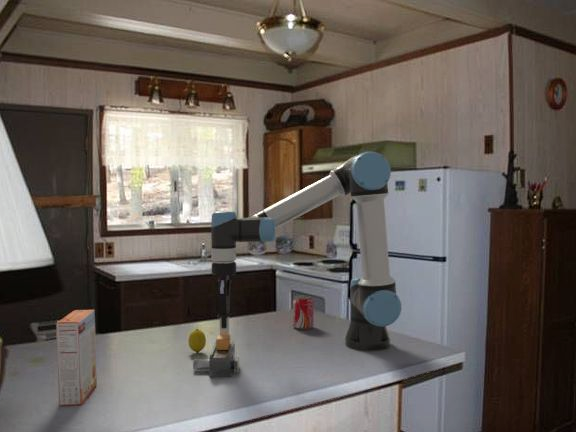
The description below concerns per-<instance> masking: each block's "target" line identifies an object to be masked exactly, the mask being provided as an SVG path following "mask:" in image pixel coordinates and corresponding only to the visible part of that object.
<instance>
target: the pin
mask: <svg viewBox="0 0 576 432" xmlns="http://www.w3.org/2000/svg"><path fill="white" fill-rule="evenodd" d="M192 369H193V371H206V370H207V371H209V358H208V359H207V358H204V359H203V358H202V359H199V358H198V359H196V358H195V359H193V363H192ZM239 369H240V355H239V354H238V355H236V354H235V359H232V370H233V373H234V374H237V373H239Z"/></svg>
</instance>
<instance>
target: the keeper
mask: <svg viewBox="0 0 576 432" xmlns="http://www.w3.org/2000/svg"><path fill="white" fill-rule="evenodd" d="M215 342H216V350H229V347H230V344H231V334H230V333H229V334H228V335H220V334H218V335H217V337H216V339H215Z"/></svg>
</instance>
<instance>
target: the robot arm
mask: <svg viewBox="0 0 576 432" xmlns="http://www.w3.org/2000/svg"><path fill="white" fill-rule="evenodd" d="M391 170H392V169H391V165H390V163H389V160H388V159H387V158H386V157H385V156H384V155H382V154H381V153H379V152H375V151H364V152H361V153H359V154H355V155H353V156H351V157H350V158H348V159H347V160H346V161H345V162H343V163H342V164H340V165H339V166H337V167H336V168H334V169H331V170H330V171H329V175H326V176H324V177H323V178H321V179H320V180H318V181H316V182H313V183H312V184H310V185H308V186H306V187H304V188H303V189H300V190H299V191H296V192H294V193H293V194H291V195H289V196H287V197H286V198H283V199H281V200H279V201H277V202H276V203H274V204H272V205H270V206H268V207H266V208H264V209H263V210H261V211H259V212H257V213H255V214H254V215H250V216H247V217H237V214H236V211H232V210H231V211H230V210H229V211H219V210H217V211H214V212H212V214H211V223H210V224H211V225H210V226H211V227H210V231H211V233H210V235H211V237H210V239H211V240H210V241H211V243H210V245H211V248H210V251H211V252H210V253H211V254H210V257H211V260H210V261H212V263H211V275H213V276H218V277H219V278H218V280H217V281H216V287H217V288H216V289H217V298H218V299H217V300H218V303H217V304H218V314H217V317H216V318H219V335H228V334H230V317H231V316H232V313H231V312H230V311H231V310H230V306H231V305H230V302H231V301H230V299H231V297H230V296H231V295H230V293H231V285H232V280H231V279H230V276H235V275H236V274H237V262H235V261H236V260H237V255H238V254H239V250H236V249H237V243H269V242H270V243H271V242H274V241H275V239H276V229H278V228H280V227H282V226H284V225H286V224H287V223H290V222H292V221H294V220H295V219H297V218H299V217H301V216H303V215H305V214H306V213H309V212H310V211H311V212H312V210H314V209H316V208H318V207H320V206H321V205H324V204H326V203H328V202H330V201H331V200H334V199H335V198H337V197H339V196H341V197H345V196H347V195H349V194H350V198H352V199H353V200H354V201H355V203H356V204H355V205H356V214H357V226H358V227H357V229H358V239H359V251H360V261H361V265H360V266H361V274H362V275H361V276H362V277H356V278H352V279H351V280H350V286H349V289H350V290H349V291H350V295H349V296H350V297H349V298H350V303H349V305H350V323H349V326H348V328H347V331H346V335H345V342H344V344H345V345H346V347H348V348H351V349H355V350H360V351H380V350H381V351H383V350H385V349H388V348H390V346H391V339H390V336H389V332H388V328H387V327H388V326H391V325H393V324H394V323H395V322H396V321H397V320H398V319H399V317H400V316H401V313H402V301H401V300H400V297H399V296H398V294H397V288H396V287H397V286H396V280H395V278H393V276H391V273H390V261H389V260H390V259H389V250H388V249H389V247H388V245H389V244H388V234H387V223H386V211H385V199H386V198H387V196H388V195H389V186H388V182H389V181H390V178H391V176H392V175H391V173H392V171H391Z"/></svg>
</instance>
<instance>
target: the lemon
mask: <svg viewBox="0 0 576 432" xmlns="http://www.w3.org/2000/svg"><path fill="white" fill-rule="evenodd" d="M206 341H207V339H206V335H205V333H204V331H203V330H201V329H199V328H195V329H193V330H192V331H191V332H190V333H189V337H188V347H189V348H190V349H191V350H192V351H193V352H194V353H196V354H198V353H200V351H203V350H204V349H205V347H206V343H207V342H206Z"/></svg>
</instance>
